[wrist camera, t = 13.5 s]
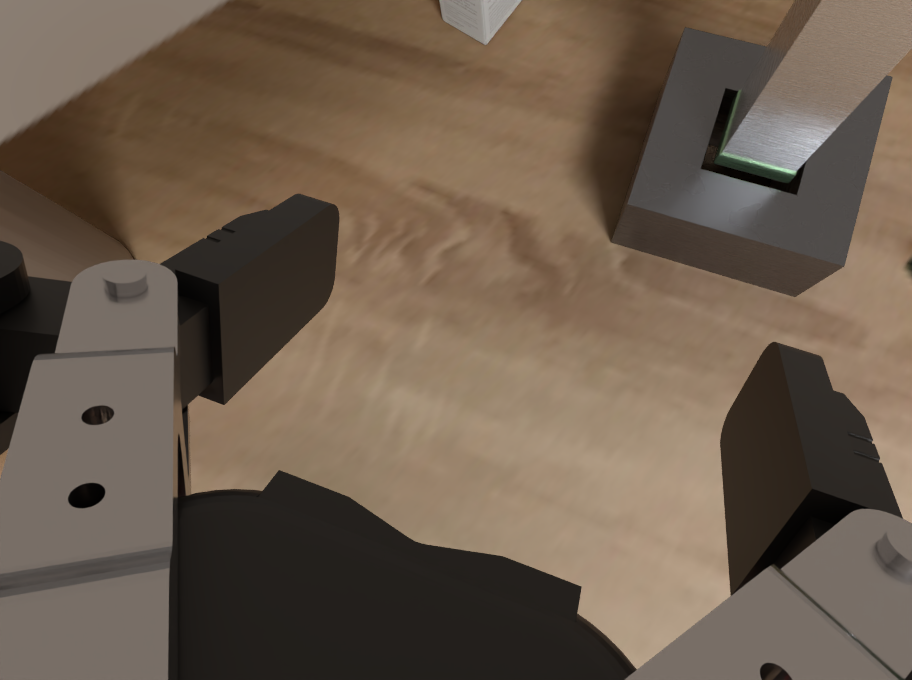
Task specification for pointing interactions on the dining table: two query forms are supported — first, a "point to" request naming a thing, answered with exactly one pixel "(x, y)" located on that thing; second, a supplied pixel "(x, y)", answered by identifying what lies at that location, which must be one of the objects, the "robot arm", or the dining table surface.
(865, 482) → the robot arm
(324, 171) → the dining table surface
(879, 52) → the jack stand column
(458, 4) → the skincare box
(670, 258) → the block
